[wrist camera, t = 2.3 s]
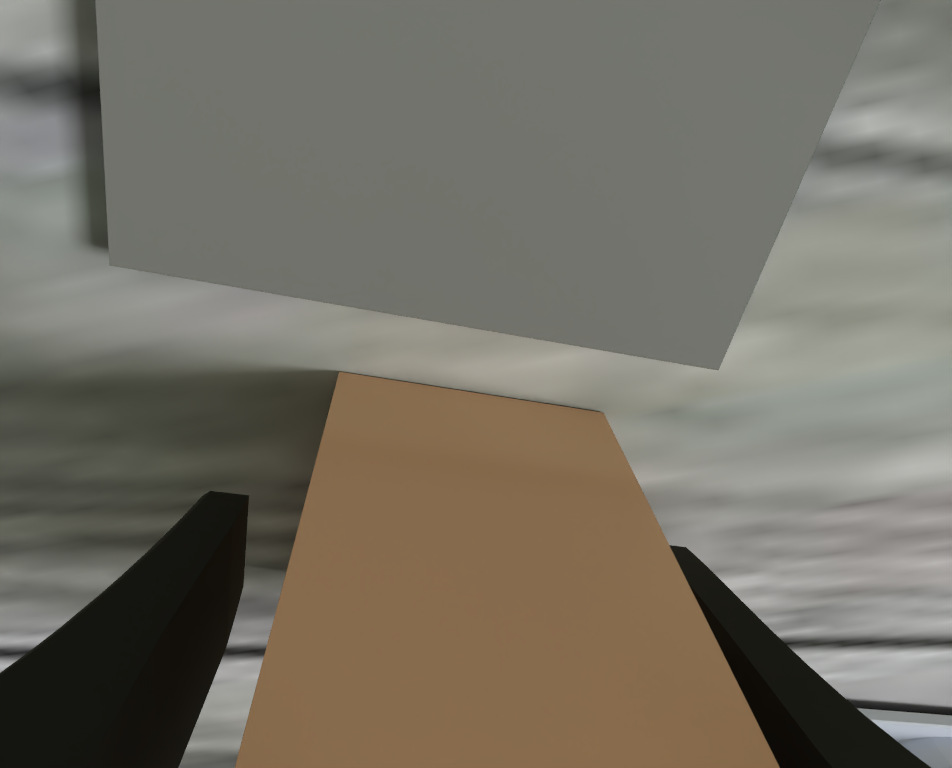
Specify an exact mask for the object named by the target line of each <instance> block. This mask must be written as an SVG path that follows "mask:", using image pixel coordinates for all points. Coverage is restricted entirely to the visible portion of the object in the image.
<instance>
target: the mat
mask: <svg viewBox="0 0 952 768" xmlns="http://www.w3.org/2000/svg"><path fill="white" fill-rule="evenodd" d="M880 1H881V0H95V5H96V23H97V42H98V61H99V79H100V98H101V117H102V135H103V154H104V173H105V191H106V210H107V229H108V247H109V265H110V266H116V267H122V268H128V269H134V270H139V271H145V272H151V273H157V274H163V275H168V276H174V277H180V278H186V279H192V280H197V281H203V282H209V283H215V284H221V285H226V286H232V287H238V288H244V289H250V290H255V291H261V292H267V293H273V294H279V295H284V296H290V297H296V298H302V299H308V300H313V301H319V302H325V303H331V304H337V305H342V306H348V307H354V308H360V309H365V310H371V311H377V312H383V313H389V314H394V315H400V316H406V317H412V318H418V319H423V320H429V321H435V322H441V323H447V324H452V325H458V326H464V327H470V328H476V329H481V330H487V331H493V332H499V333H505V334H510V335H516V336H522V337H528V338H534V339H539V340H545V341H551V342H557V343H563V344H568V345H574V346H580V347H586V348H592V349H597V350H603V351H609V352H615V353H621V354H626V355H632V356H638V357H644V358H650V359H655V360H661V361H667V362H673V363H679V364H684V365H690V366H696V367H702V368H707V369H713V370H719V368H720V365H721V363H722V361H723V358H724V356H725V354H726V352H727V349H728V347H729V345H730V342H731V340H732V338H733V336H734V333H735V331H736V329H737V327H738V324H739V322H740V320H741V317H742V315H743V313H744V311H745V308H746V306H747V304H748V301H749V299H750V297H751V295H752V292H753V290H754V288H755V286H756V283H757V281H758V279H759V276H760V274H761V272H762V270H763V267H764V265H765V263H766V261H767V258H768V256H769V254H770V251H771V249H772V247H773V245H774V242H775V240H776V238H777V235H778V233H779V231H780V229H781V226H782V224H783V222H784V220H785V217H786V215H787V213H788V210H789V208H790V206H791V204H792V201H793V199H794V197H795V194H796V192H797V190H798V188H799V185H800V183H801V181H802V179H803V176H804V174H805V172H806V169H807V167H808V165H809V163H810V160H811V158H812V156H813V153H814V151H815V149H816V147H817V144H818V142H819V140H820V138H821V135H822V133H823V131H824V128H825V126H826V124H827V122H828V119H829V117H830V115H831V112H832V110H833V108H834V106H835V103H836V101H837V99H838V97H839V94H840V92H841V90H842V87H843V85H844V83H845V81H846V78H847V76H848V74H849V72H850V69H851V67H852V65H853V62H854V60H855V58H856V56H857V53H858V51H859V49H860V46H861V44H862V42H863V40H864V37H865V35H866V33H867V31H868V28H869V26H870V24H871V21H872V19H873V17H874V15H875V12H876V10H877V8H878V5H879V3H880Z"/></svg>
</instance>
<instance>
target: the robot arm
mask: <svg viewBox="0 0 952 768" xmlns="http://www.w3.org/2000/svg"><path fill="white" fill-rule="evenodd" d="M248 501H249V496H248V495H240V494H231V493H223V492H214V491H210V492H208V493H206V494H205V495H203V496H202V497H201V498H200V499H199V500H198V502H197V503H196V504H195V505H194V506H193V507H192V508H191V509H190V510H189V511H188V512H187V513H186V514H185V515H184V516H183V517H182V518H181V519H180V520H179V521H178V522H177V523H176V524H175V525H174V526H173V527H172V528H171V529H170V530H169V531H168V532H167V533H166V534H165V535H164V536H163V537H162V538H161V539H160V540H159V541H158V542H157V543H156V544H155V545H154V546H153V547H152V548H151V549H150V550H149V551H148V552H147V553H146V554H145V555H143V556H142V557H141V558H140V559H139V560H138V561H137V562H136V563H135V564H134V565H133V566H131V567H130V568H129V569H128V570H127V571H126V572H125V573H124V574H123V575H122V576H121V577H120V578H118V579H117V580H116V581H115V582H114V583H113V584H112V585H111V586H109V587H108V588H107V589H106V590H105V591H104V592H102V593H101V594H100V595H99V596H98V597H96V598H95V599H94V600H93V601H92V602H90V603H89V604H88V605H87V606H86V607H84V608H83V609H82V610H81V611H80V612H78V613H77V614H76V615H75V616H74V617H72V618H71V619H70V620H69V621H68V622H66V623H65V624H64V625H63V626H62V627H60V628H59V629H58V630H57V631H55V632H54V633H53V634H52V635H50V636H49V637H48V638H46V639H45V640H44V641H42V642H41V643H40V644H39V645H37V646H36V647H35V648H33V649H32V650H31V651H29V652H28V653H27V654H25V655H24V656H23V657H21V658H20V659H19V660H17V661H16V662H15V663H13V664H12V665H11V666H9V667H8V668H6V669H5V670H4V671H2V672H1V673H0V768H178V767H179V764H180V762H181V759H182V757H183V754H184V752H185V749H186V747H187V744H188V742H189V739H190V737H191V734H192V732H193V729H194V727H195V724H196V722H197V719H198V717H199V714H200V712H201V709H202V707H203V704H204V702H205V699H206V697H207V694H208V692H209V689H210V687H211V684H212V682H213V679H214V677H215V674H216V672H217V669H218V667H219V664H220V662H221V659H222V656H223V654H224V651H225V649H226V646H227V643H228V640H229V636H230V632H231V629H232V625H233V622H234V618H235V615H236V611H237V607H238V604H239V600H240V596H241V593H242V589H243V582H244V566H245V550H246V534H247V517H248ZM669 546H670V548H671V550H672V552H673V554H674V556H675V558H676V560H677V562H678V564H679V566H680V568H681V570H682V572H683V574H684V576H685V578H686V580H687V582H688V584H689V586H690V588H691V590H692V592H693V594H694V596H695V598H696V600H697V602H698V604H699V606H700V608H701V610H702V612H703V614H704V616H705V618H706V620H707V622H708V624H709V626H710V628H711V630H712V632H713V634H714V636H715V638H716V640H717V642H718V644H719V646H720V648H721V650H722V652H723V654H724V656H725V659H726V661H727V663H728V665H729V667H730V669H731V671H732V673H733V675H734V677H735V679H736V681H737V683H738V685H739V687H740V689H741V691H742V693H743V695H744V697H745V699H746V701H747V703H748V705H749V707H750V709H751V711H752V713H753V715H754V717H755V719H756V721H757V723H758V725H759V727H760V729H761V731H762V733H763V735H764V737H765V739H766V741H767V743H768V745H769V747H770V749H771V751H772V753H773V755H774V757H775V759H776V761H777V763H778V765H779V767H780V768H952V715H939V714H926V713H913V712H901V711H888V710H875V709H862V708H856V707H855V706H853V705H852V704H851V703H850V702H849V701H847V700H846V699H845V698H844V697H843V696H842V695H841V694H839V693H838V692H837V691H836V690H835V689H834V688H833V687H832V686H831V685H829V684H828V683H827V682H826V681H825V680H824V679H823V678H822V677H820V676H819V675H818V674H817V673H816V672H815V671H814V670H813V669H812V668H810V667H809V666H808V665H807V664H806V663H805V662H804V661H803V660H802V659H801V658H800V657H799V656H798V655H796V654H795V653H794V652H793V651H792V650H791V649H790V648H789V647H788V646H787V645H786V644H785V643H784V642H783V641H782V640H781V639H780V638H779V637H778V636H777V635H776V634H774V633H773V632H772V631H771V630H770V629H769V628H768V627H767V626H766V625H765V624H764V623H763V622H762V621H761V620H760V619H759V618H758V617H757V616H756V615H755V614H754V613H753V612H752V611H751V610H750V609H749V608H748V607H747V606H746V605H745V604H744V603H743V602H742V601H741V600H740V599H739V598H738V597H737V596H736V595H735V594H734V593H733V592H732V591H731V590H730V589H729V588H728V587H727V586H726V585H725V584H724V583H723V582H722V581H721V580H720V579H719V578H718V577H717V576H716V575H715V574H714V573H713V572H712V571H711V570H710V569H709V568H708V567H707V566H706V565H705V564H704V563H703V562H701V561H700V560H699V559H698V558H697V557H696V556H695V555H694V554H693V553H692V552H691V551H689V550H688V549H687V548H686V547H679V546H671V545H669Z"/></svg>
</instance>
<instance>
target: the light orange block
mask: <svg viewBox="0 0 952 768" xmlns="http://www.w3.org/2000/svg"><path fill="white" fill-rule="evenodd" d="M235 768H780V767H779V765H778V763H777V761H776V759H775V757H774V755H773V753H772V751H771V749H770V747H769V745H768V743H767V741H766V739H765V737H764V735H763V733H762V731H761V729H760V727H759V725H758V723H757V721H756V719H755V717H754V715H753V713H752V711H751V709H750V707H749V705H748V703H747V701H746V699H745V697H744V695H743V693H742V691H741V689H740V687H739V685H738V683H737V681H736V679H735V677H734V675H733V673H732V671H731V669H730V667H729V665H728V663H727V661H726V659H725V656H724V654H723V652H722V650H721V648H720V646H719V644H718V642H717V640H716V638H715V636H714V634H713V632H712V630H711V628H710V626H709V624H708V622H707V620H706V618H705V616H704V614H703V612H702V610H701V608H700V606H699V604H698V602H697V600H696V598H695V596H694V594H693V592H692V590H691V588H690V586H689V584H688V582H687V580H686V578H685V576H684V574H683V572H682V570H681V568H680V566H679V564H678V562H677V560H676V558H675V556H674V554H673V552H672V550H671V548H670V546H669V544H668V542H667V540H666V538H665V536H664V534H663V532H662V530H661V528H660V526H659V524H658V522H657V520H656V518H655V516H654V514H653V512H652V510H651V507H650V505H649V503H648V501H647V499H646V497H645V495H644V493H643V491H642V489H641V487H640V485H639V483H638V481H637V479H636V477H635V475H634V473H633V471H632V469H631V467H630V465H629V463H628V461H627V459H626V457H625V455H624V453H623V451H622V449H621V447H620V445H619V443H618V441H617V439H616V437H615V435H614V433H613V431H612V429H611V427H610V425H609V423H608V421H607V419H606V417H605V415H604V413H602V412H596V411H589V410H583V409H576V408H570V407H564V406H557V405H551V404H544V403H538V402H531V401H525V400H518V399H512V398H506V397H499V396H493V395H486V394H480V393H473V392H467V391H460V390H454V389H448V388H441V387H435V386H428V385H422V384H415V383H409V382H402V381H396V380H389V379H383V378H377V377H370V376H364V375H357V374H351V373H344V372H339V375H338V378H337V382H336V386H335V390H334V394H333V397H332V401H331V405H330V409H329V413H328V416H327V420H326V424H325V428H324V432H323V435H322V439H321V443H320V447H319V451H318V454H317V458H316V462H315V466H314V469H313V473H312V477H311V481H310V485H309V488H308V492H307V496H306V500H305V504H304V507H303V511H302V515H301V519H300V523H299V526H298V530H297V534H296V538H295V542H294V545H293V549H292V553H291V557H290V560H289V564H288V568H287V572H286V576H285V579H284V583H283V587H282V591H281V595H280V598H279V602H278V606H277V610H276V614H275V617H274V621H273V625H272V629H271V632H270V636H269V640H268V644H267V648H266V651H265V655H264V659H263V663H262V667H261V670H260V674H259V678H258V682H257V686H256V689H255V693H254V697H253V701H252V705H251V708H250V712H249V716H248V720H247V723H246V727H245V731H244V735H243V739H242V742H241V746H240V750H239V754H238V758H237V761H236V765H235Z"/></svg>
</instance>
